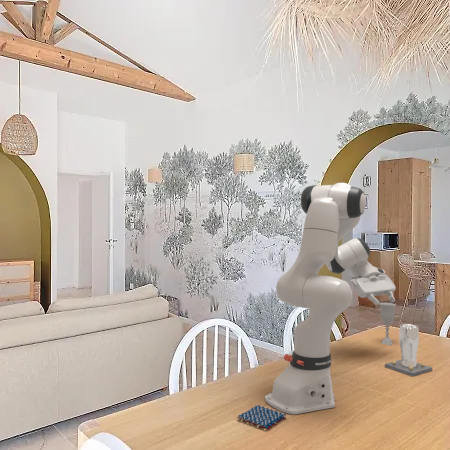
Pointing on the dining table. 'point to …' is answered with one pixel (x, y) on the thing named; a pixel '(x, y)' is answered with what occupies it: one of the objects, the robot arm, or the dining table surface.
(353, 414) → the dining table surface
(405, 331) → the beer glass
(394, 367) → the coaster
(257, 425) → the woven mat
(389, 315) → the chalice
